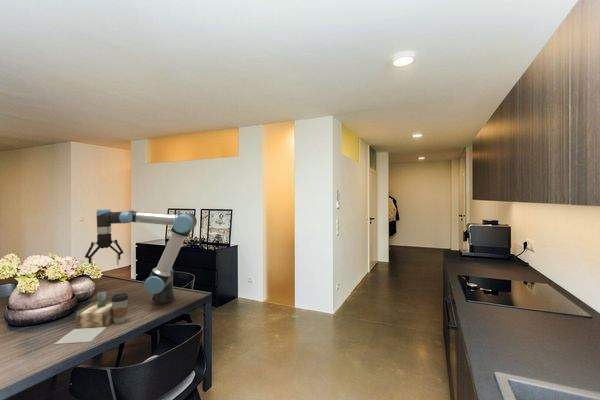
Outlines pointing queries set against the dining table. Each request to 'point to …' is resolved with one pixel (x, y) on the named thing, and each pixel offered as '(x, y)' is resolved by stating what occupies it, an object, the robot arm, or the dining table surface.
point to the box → (94, 319)
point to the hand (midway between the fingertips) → (105, 266)
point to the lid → (98, 306)
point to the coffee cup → (119, 308)
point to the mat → (81, 335)
